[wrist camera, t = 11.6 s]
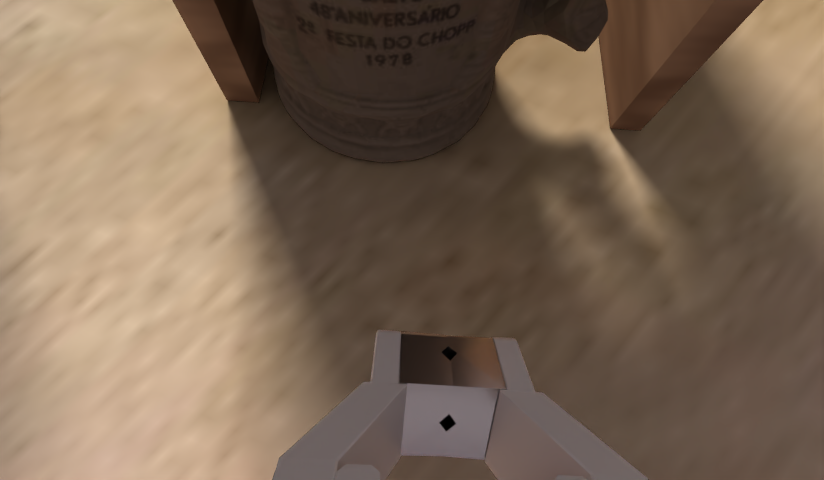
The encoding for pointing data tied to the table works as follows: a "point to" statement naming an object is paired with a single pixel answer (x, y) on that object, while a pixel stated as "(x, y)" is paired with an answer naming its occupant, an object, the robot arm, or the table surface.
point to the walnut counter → (619, 42)
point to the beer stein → (403, 65)
